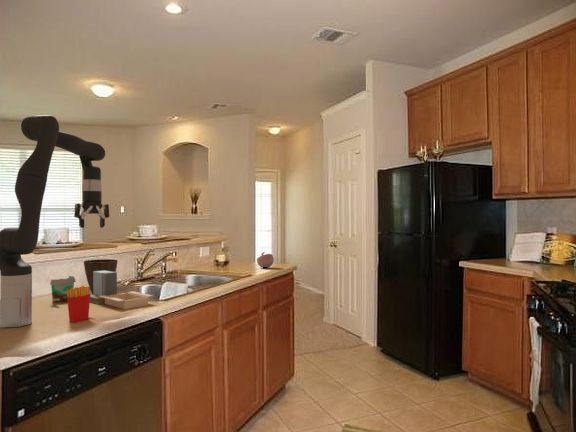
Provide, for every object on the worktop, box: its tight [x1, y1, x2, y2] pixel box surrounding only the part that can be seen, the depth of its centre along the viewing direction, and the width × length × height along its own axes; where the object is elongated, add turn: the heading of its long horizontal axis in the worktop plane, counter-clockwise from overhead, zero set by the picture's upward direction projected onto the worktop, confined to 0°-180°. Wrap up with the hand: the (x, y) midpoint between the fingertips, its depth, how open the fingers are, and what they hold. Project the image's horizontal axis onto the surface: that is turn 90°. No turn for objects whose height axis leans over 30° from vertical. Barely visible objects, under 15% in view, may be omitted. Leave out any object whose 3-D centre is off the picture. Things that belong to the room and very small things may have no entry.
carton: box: [99, 290, 154, 310], centre depth 182 cm, size 15×16×4 cm
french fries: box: [66, 285, 91, 323], centre depth 157 cm, size 8×4×12 cm, turn 153°
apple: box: [256, 251, 275, 268], centre depth 313 cm, size 12×12×12 cm
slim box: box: [93, 270, 118, 296], centre depth 191 cm, size 5×11×10 cm, turn 49°
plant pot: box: [83, 258, 118, 295], centre depth 210 cm, size 15×15×16 cm
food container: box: [49, 275, 76, 303], centre depth 194 cm, size 12×6×10 cm, turn 168°
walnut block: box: [90, 292, 120, 305], centre depth 191 cm, size 12×12×3 cm
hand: (92, 227), depth 193 cm, fingers open, 8 cm apart
